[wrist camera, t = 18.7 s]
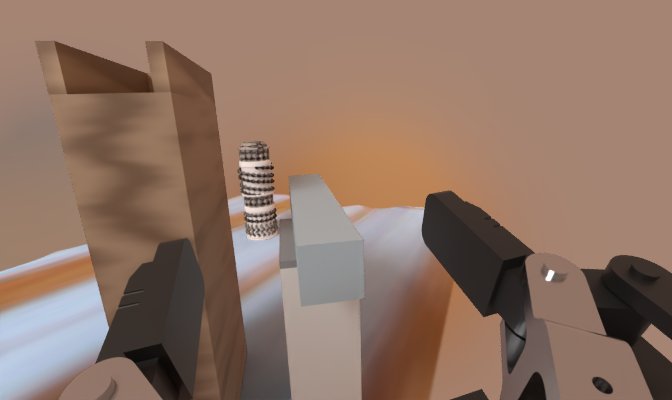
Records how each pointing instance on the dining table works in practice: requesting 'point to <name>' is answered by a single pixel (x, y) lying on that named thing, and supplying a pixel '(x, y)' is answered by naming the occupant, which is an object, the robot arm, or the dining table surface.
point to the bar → (324, 244)
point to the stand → (151, 184)
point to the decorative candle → (257, 190)
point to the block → (318, 336)
